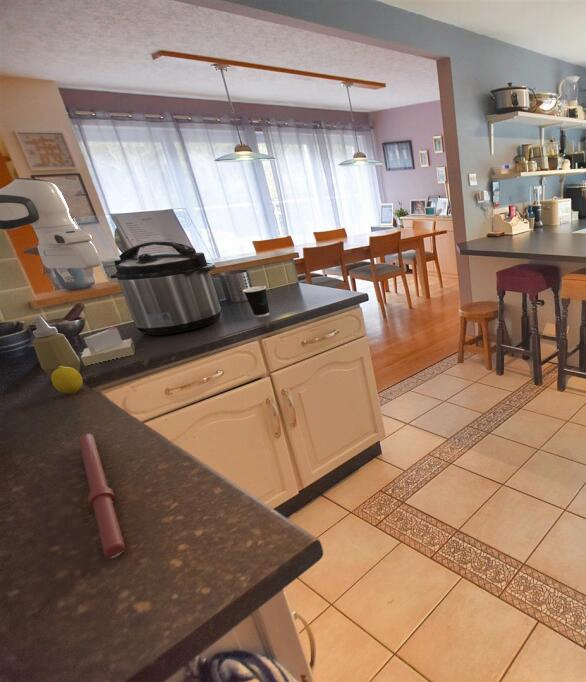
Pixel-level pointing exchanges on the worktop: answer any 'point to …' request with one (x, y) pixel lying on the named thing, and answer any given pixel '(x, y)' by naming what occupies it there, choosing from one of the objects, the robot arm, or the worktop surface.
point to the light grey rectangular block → (103, 340)
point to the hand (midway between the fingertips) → (80, 282)
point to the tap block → (109, 353)
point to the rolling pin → (101, 498)
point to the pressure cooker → (168, 289)
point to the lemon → (66, 379)
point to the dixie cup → (258, 300)
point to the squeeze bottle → (53, 348)
